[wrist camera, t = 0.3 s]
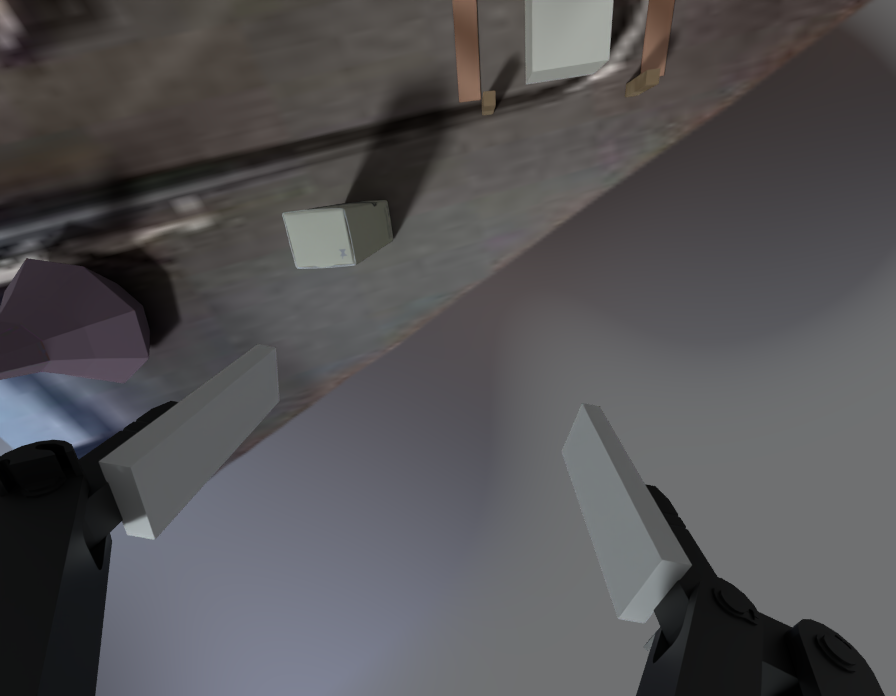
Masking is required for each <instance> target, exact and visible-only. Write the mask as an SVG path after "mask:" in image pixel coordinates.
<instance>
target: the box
mask: <svg viewBox="0 0 896 696" xmlns="http://www.w3.org/2000/svg"><path fill="white" fill-rule="evenodd" d="M283 219H284V223H285V227H286V231H287V236H288V239H289V243H290V247H291V251H292V255H293V258H294V262H295V265H296V268H298V269H313V268H331V267H344V266H355V265H357V264H358V263H360V262H361V261H363V260H364V259H366V258H367V257H369V256H371V255H372V254H373V253H375V252H377V251H378V250H380V249H381V248H382V247H384V246H385V245H387V244H389V243H390V242H392V241H393V233H392V226H391V220H390V213H389V208H388V202H387V201H386V200H377V201H361V202H352V203H343V204H336V205H330V206H324V207H318V208H312V209H307V210H300V211H292V212H285V213H283Z"/></svg>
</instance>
